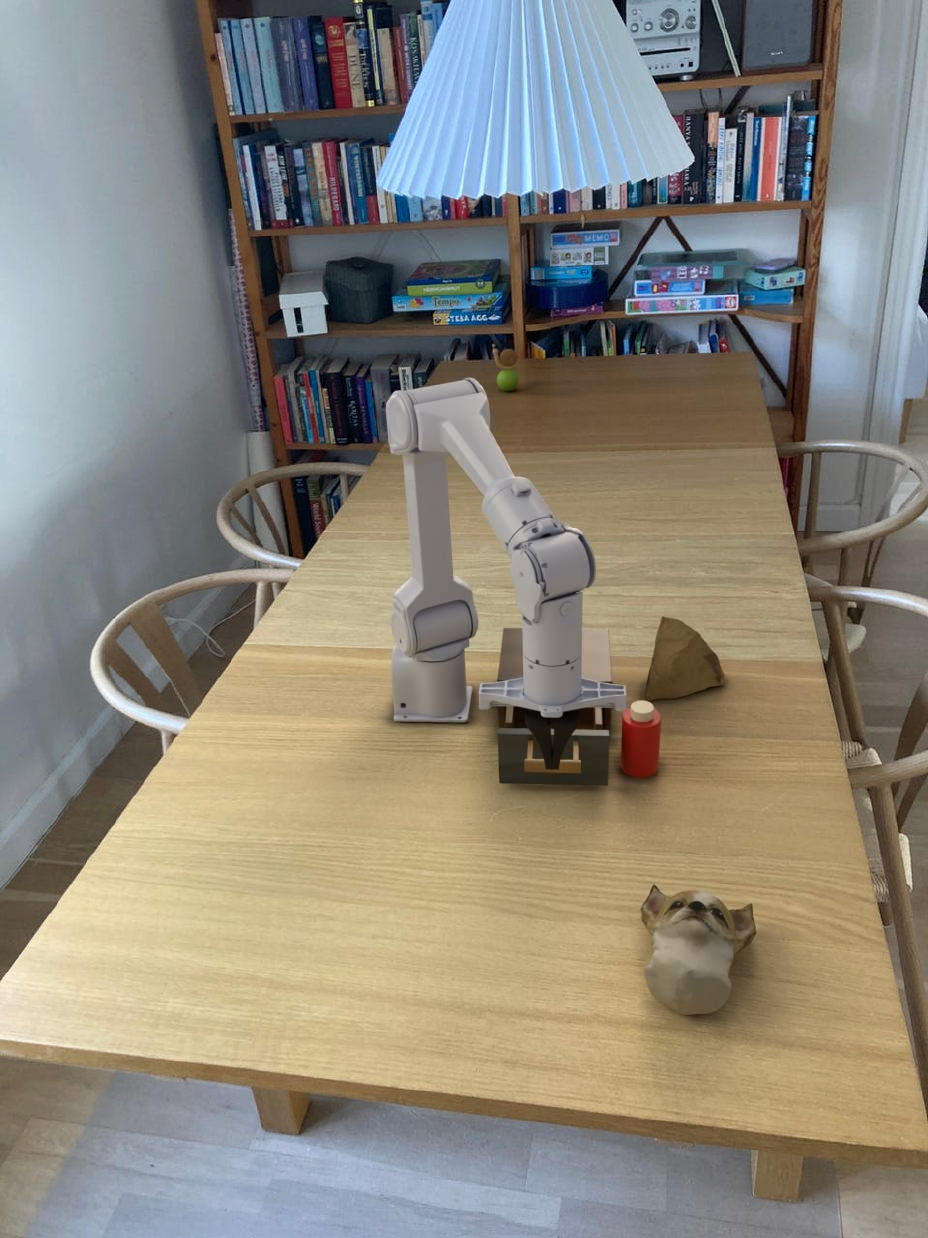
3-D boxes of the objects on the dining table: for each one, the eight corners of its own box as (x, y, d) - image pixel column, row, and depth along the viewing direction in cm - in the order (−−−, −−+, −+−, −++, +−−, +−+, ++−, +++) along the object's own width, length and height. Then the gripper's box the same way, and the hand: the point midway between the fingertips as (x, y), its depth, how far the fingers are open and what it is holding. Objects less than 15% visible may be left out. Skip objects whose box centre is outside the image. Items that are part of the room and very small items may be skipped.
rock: (732, 652, 136) (658, 634, 138) (740, 628, 128) (662, 609, 131) (714, 727, 133) (639, 707, 135) (721, 707, 125) (641, 686, 127)
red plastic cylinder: (621, 777, 118) (623, 717, 114) (619, 754, 121) (621, 695, 117) (659, 778, 117) (663, 718, 113) (656, 755, 121) (660, 696, 117)
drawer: (609, 814, 111) (611, 763, 107) (496, 811, 112) (494, 760, 109) (604, 727, 125) (606, 679, 122) (504, 725, 126) (503, 678, 123)
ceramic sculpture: (623, 945, 84) (650, 836, 97) (617, 1020, 88) (644, 906, 101) (755, 973, 81) (765, 857, 94) (743, 1050, 85) (755, 929, 98)
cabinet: (610, 742, 124) (612, 681, 119) (499, 740, 125) (497, 680, 121) (606, 686, 135) (608, 628, 130) (504, 684, 136) (503, 627, 132)
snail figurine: (490, 389, 255) (489, 341, 249) (514, 386, 257) (513, 338, 251) (497, 395, 251) (496, 346, 245) (521, 392, 252) (521, 343, 246)
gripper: (474, 672, 96) (479, 786, 102) (629, 674, 94) (624, 789, 101) (480, 634, 102) (484, 744, 108) (626, 635, 100) (621, 747, 107)
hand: (552, 763), depth 105 cm, fingers closed
